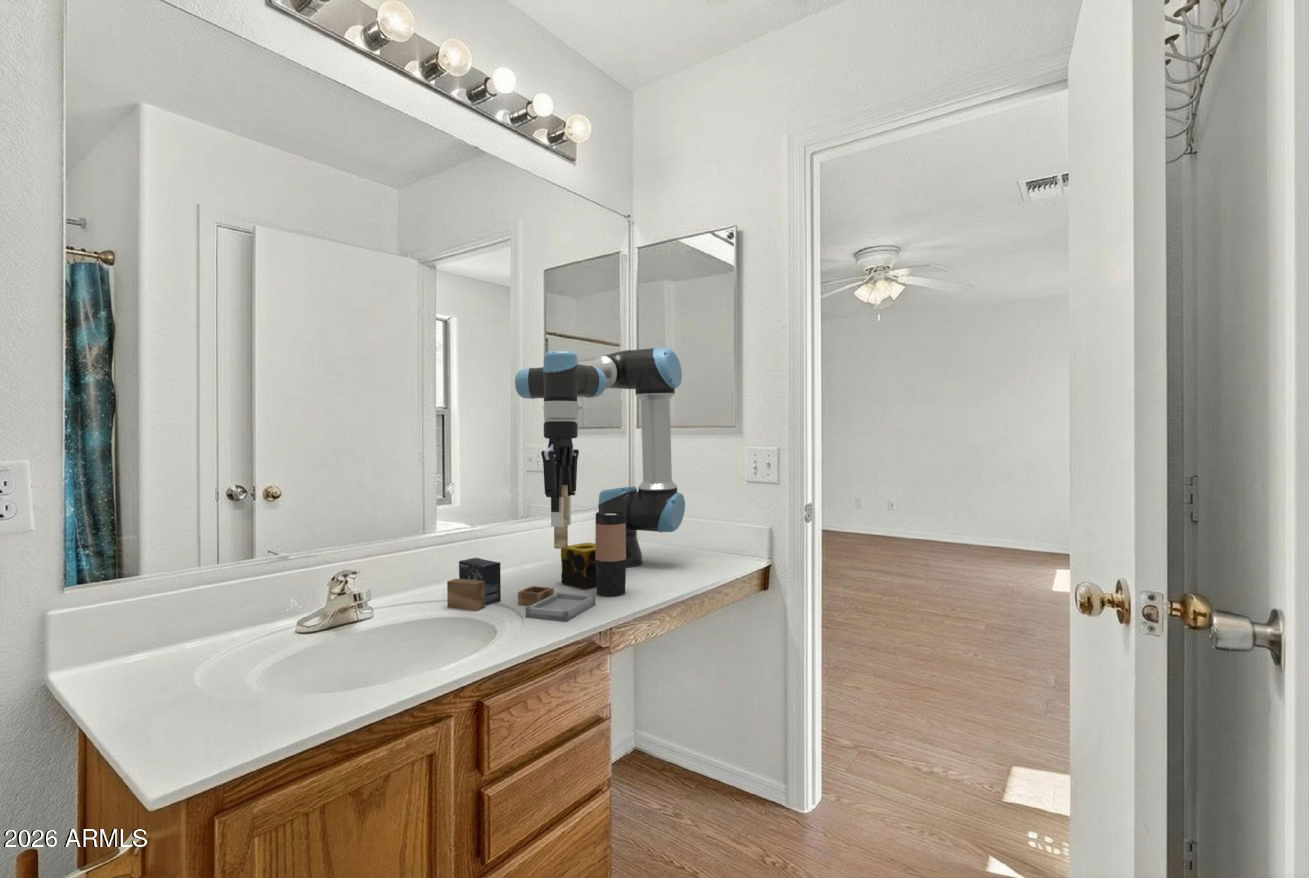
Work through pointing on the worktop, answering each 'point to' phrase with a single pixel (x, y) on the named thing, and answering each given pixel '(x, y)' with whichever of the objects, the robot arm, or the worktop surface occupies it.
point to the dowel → (562, 532)
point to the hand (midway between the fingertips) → (561, 525)
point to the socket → (533, 595)
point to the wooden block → (466, 594)
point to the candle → (579, 566)
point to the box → (483, 576)
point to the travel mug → (610, 553)
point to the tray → (560, 606)
